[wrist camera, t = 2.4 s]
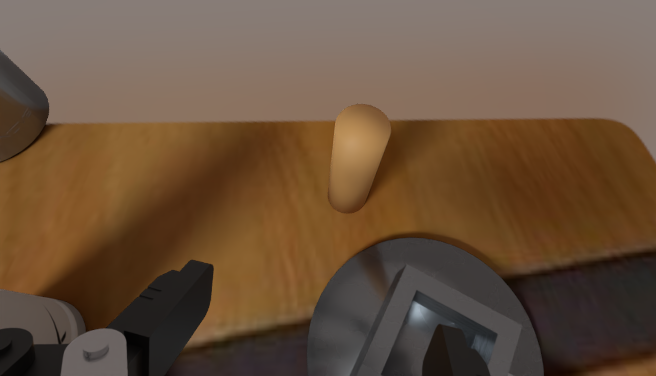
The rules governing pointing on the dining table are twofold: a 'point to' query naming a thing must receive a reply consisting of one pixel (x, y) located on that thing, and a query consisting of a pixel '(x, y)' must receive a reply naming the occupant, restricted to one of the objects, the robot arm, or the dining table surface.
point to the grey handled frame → (417, 313)
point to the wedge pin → (356, 155)
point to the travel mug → (41, 317)
